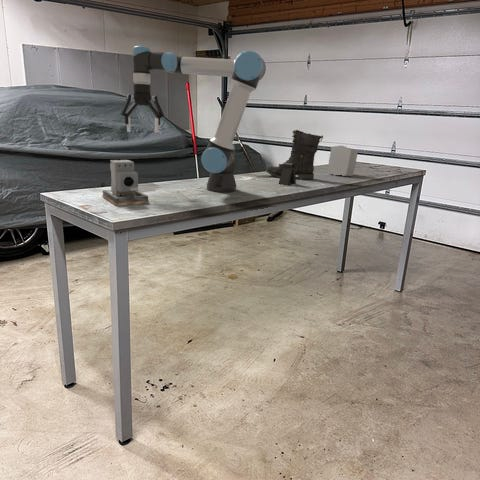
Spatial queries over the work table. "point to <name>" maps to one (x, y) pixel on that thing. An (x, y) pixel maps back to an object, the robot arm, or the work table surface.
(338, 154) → the electrical switch box
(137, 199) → the track
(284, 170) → the door stopper
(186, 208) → the work table surface
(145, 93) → the robot arm
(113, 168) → the circuit breaker
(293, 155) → the boot
